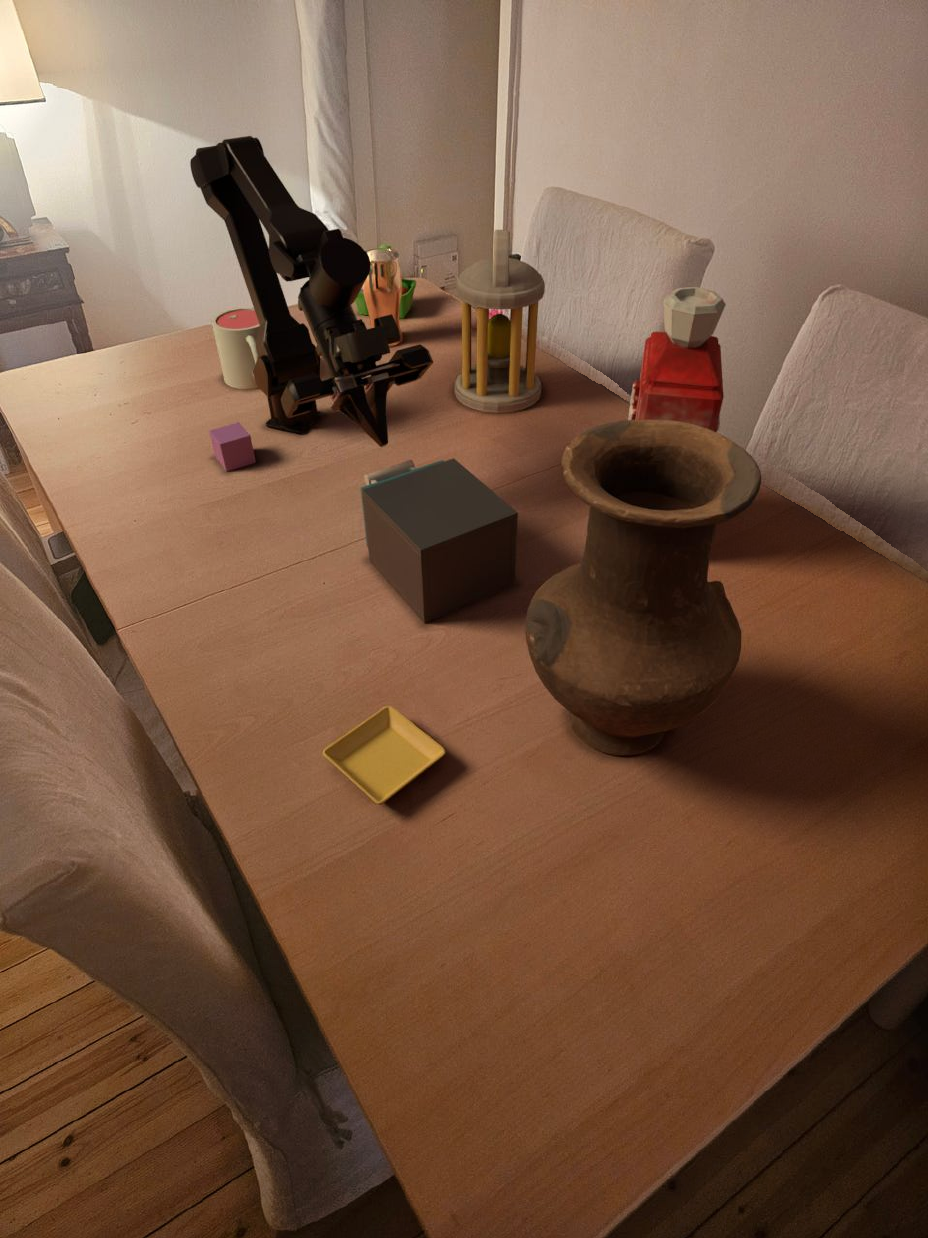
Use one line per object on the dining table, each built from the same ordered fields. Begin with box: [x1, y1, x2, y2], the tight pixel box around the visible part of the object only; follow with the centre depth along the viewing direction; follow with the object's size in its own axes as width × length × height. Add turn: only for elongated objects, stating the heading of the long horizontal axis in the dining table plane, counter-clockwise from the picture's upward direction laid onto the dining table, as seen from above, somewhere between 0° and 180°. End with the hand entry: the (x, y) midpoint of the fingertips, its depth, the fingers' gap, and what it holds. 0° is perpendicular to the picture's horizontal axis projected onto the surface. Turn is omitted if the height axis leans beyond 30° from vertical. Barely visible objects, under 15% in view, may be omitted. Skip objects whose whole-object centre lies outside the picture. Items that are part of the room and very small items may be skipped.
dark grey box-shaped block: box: [362, 458, 519, 624], centre depth 97 cm, size 14×13×11 cm
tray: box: [360, 459, 445, 548], centre depth 100 cm, size 17×11×9 cm
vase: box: [524, 419, 762, 756], centre depth 73 cm, size 19×19×30 cm
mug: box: [211, 306, 260, 390], centre depth 134 cm, size 14×9×10 cm
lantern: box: [454, 229, 546, 414], centre depth 126 cm, size 14×14×25 cm
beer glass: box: [362, 247, 404, 348], centre depth 145 cm, size 7×7×15 cm
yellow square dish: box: [322, 705, 447, 805], centre depth 78 cm, size 9×9×2 cm
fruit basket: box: [354, 244, 417, 319], centre depth 156 cm, size 11×9×11 cm
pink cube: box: [208, 421, 257, 472], centre depth 118 cm, size 4×4×4 cm
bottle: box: [627, 286, 727, 433], centre depth 97 cm, size 14×10×30 cm
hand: (384, 445), depth 101 cm, fingers closed
